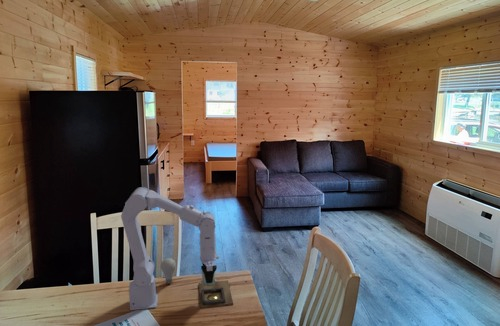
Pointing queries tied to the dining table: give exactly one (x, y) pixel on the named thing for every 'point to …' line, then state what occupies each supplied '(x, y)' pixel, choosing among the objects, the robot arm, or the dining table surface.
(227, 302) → the board
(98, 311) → the dining table surface
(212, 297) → the dark grey square frame
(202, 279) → the pale green pear shape
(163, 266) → the lightbulb
